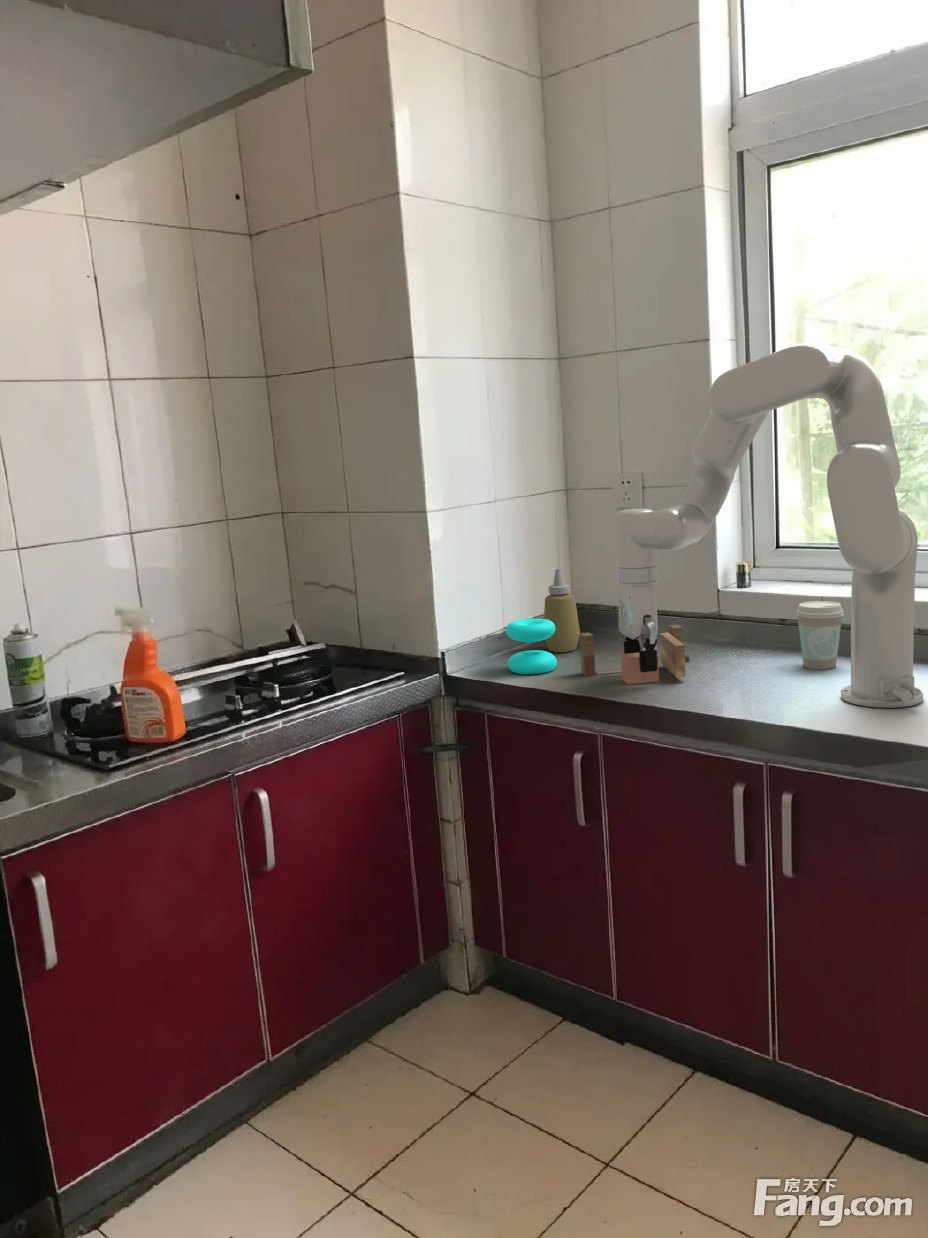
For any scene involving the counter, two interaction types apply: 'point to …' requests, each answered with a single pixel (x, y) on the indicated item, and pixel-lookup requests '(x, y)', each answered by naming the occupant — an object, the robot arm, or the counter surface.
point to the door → (673, 654)
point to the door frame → (588, 651)
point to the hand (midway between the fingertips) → (640, 665)
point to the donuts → (533, 658)
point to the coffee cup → (819, 633)
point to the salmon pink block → (636, 670)
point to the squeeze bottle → (562, 616)
